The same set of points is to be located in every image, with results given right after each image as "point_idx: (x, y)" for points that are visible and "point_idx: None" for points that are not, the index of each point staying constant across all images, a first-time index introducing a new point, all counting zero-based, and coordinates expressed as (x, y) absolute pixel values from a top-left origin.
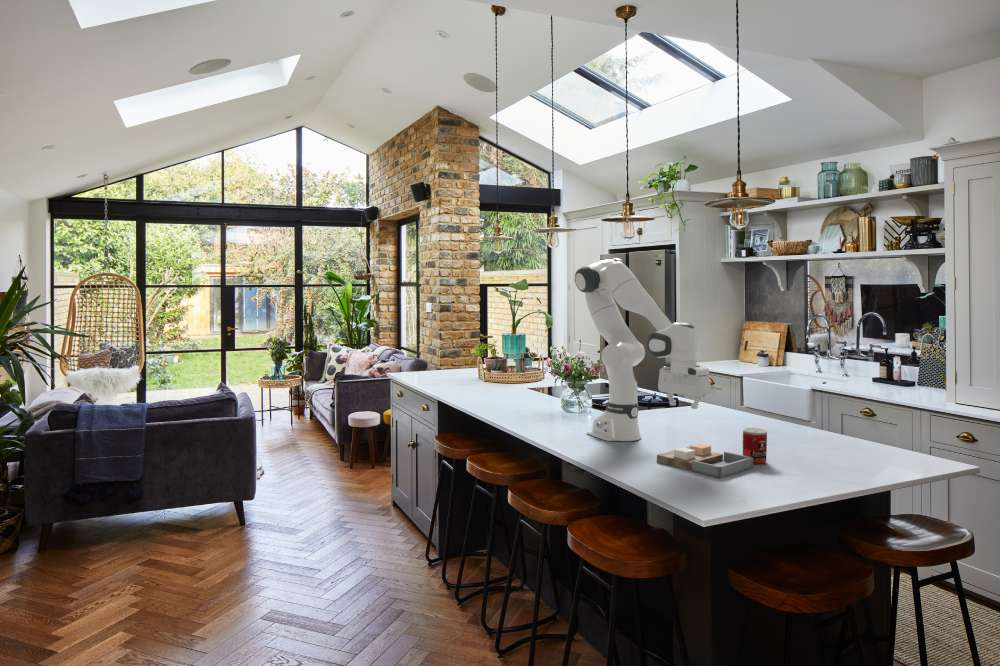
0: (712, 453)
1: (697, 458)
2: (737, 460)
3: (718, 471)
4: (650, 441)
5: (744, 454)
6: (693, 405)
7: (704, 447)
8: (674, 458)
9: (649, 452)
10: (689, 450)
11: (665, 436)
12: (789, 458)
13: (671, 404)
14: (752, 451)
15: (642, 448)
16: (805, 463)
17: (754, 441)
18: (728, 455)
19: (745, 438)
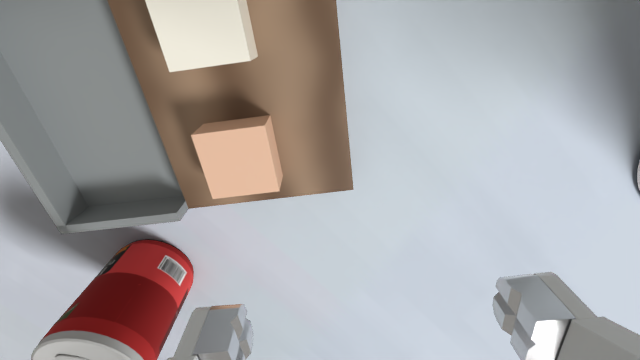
0: None
1: (164, 60)
2: (128, 207)
3: None
4: (580, 191)
5: (147, 258)
6: (198, 336)
7: (203, 157)
8: None
9: (476, 44)
10: (174, 36)
11: (569, 281)
12: None
13: (527, 278)
14: (102, 273)
15: (546, 72)
16: None
17: (69, 308)
18: (160, 209)
19: (105, 309)
